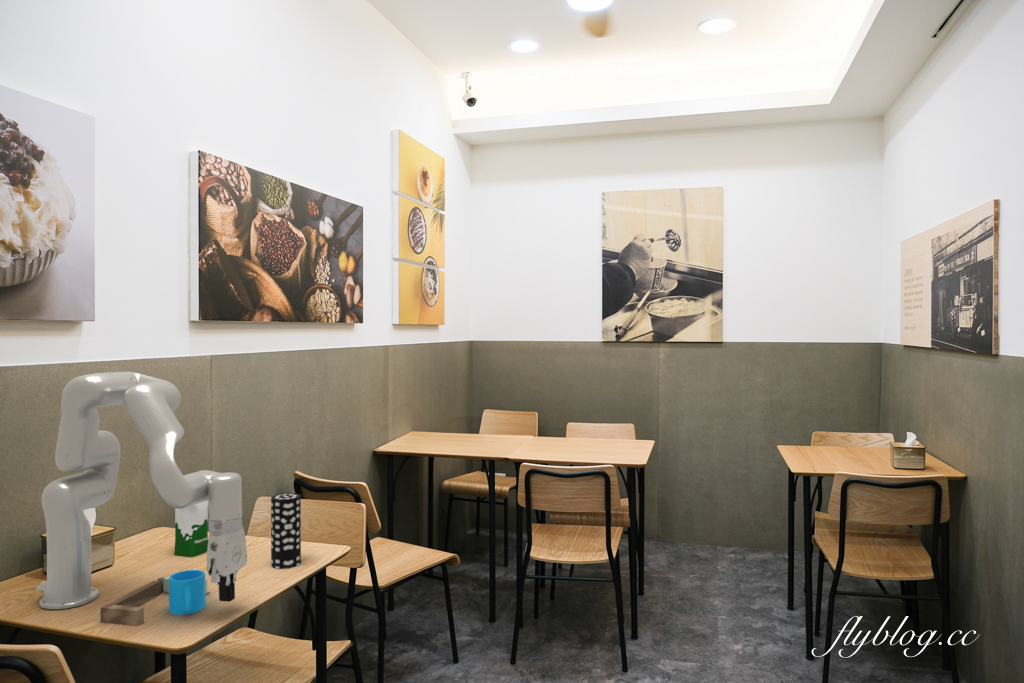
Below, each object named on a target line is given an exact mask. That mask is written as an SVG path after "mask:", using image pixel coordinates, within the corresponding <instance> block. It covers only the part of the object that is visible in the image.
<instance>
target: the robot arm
mask: <svg viewBox="0 0 1024 683" xmlns="http://www.w3.org/2000/svg"><path fill="white" fill-rule="evenodd" d="M181 396H182V395H181V393H180V391H179V389H178V388H177V386H176V385H175V384H173V383H172V382H170V381H168V380H165V379H161V378H157V377H154V376H150V375H146V374H143V373H139V372H136V371H134V372H133V371H114V372H113V371H112V372H107V371H106V372H95V373H89V374H83V375H79V376H76V377H74V378H72V379H71V380H69V382H67V384H65V387H64V388H63V390H62V393H61V401H60V404H61V407H60V408H61V410H60V414H61V415H60V423H59V426H58V427H59V429H58V434H57V440H56V447H55V454H54V462H55V466H56V467H57V469H59V471H61V472H63V473H69V474H71V473H75V474H71V475H67V476H63V477H59V478H57V479H54V480H53V481H51V482H50V483H48V484H47V485H46V486H45V488H44V489H43V491H42V494H41V499H40V500H41V506H42V510H43V514H44V519H45V529H46V580H42V581H41V582H40V584H39V585H38V586H36V589H35V591H36V592H38V593H39V592H41V593H43V597H42V598H41V599H39V606H40V608H42V609H45V610H64V609H71V608H75V607H79V606H83V605H86V604H89V603H91V602H92V601H94V600H95V599H97V598H98V597H99V590H98V589H97V588H95V587H93V586H92V528H91V524H90V522H89V519H88V518H87V516H86V514H85V511H87V510H88V509H91V508H92V509H93V508H95V507H98V506H101V505H103V504H105V503H107V502H108V501H109V500H110V499H111V498H113V495H114V493H115V489H116V486H117V485H116V484H117V480H118V473H119V467H120V460H121V451H122V450H121V444H120V441H119V439H118V438H117V436H116V435H115V434H114V433H112V432H111V431H108V430H105V429H103V430H100V425H101V424H100V422H101V421H100V420H101V418H100V414H99V411H98V409H97V408H101V407H102V408H103V407H110V406H118V405H123V406H124V408H125V409H126V411H127V413H128V415H129V417H130V418H131V419H132V421H133V423H134V424H135V426H136V427H137V429H138V431H139V433H140V434H141V436H142V437H143V439H144V441H145V442H146V444H147V445H148V447H149V455H148V468H149V475H150V479H151V481H152V483H153V485H154V487H155V488H156V490H157V492H158V493H159V495H160V496H161V498H162V499H163V501H164V502H165V503H166V504H167V505H168V506H170V507H171V508H173V509H175V508H176V509H184V508H188V507H190V506H193V505H196V504H198V503H201V502H205V501H208V548H207V551H206V571H207V575H208V576H210V582H211V583H213V584H214V583H215V584H217V586H218V600H219V601H220V602H228V603H230V602H232V601H233V600H235V598H236V592H235V588H236V587H235V584H236V583H235V582H236V581H237V574H238V572H239V571H240V570H241V569H242V568H243V567H245V566H246V565H247V562H248V550H247V548H248V547H247V539H246V532H245V529H244V526H243V488H242V487H243V486H242V483H243V482H242V481H243V480H242V477H241V474H239V473H237V472H217V471H213V470H210V469H207V470H206V469H204V470H198V471H194V472H190V473H188V474H187V473H186V474H183V473H182V471H181V470H180V469H179V467H178V465H177V462H176V458H175V456H174V454H175V453H174V452H175V447H176V446H177V443H178V442H180V440H181V439H182V438H183V436H184V433H185V430H184V428H183V426H182V424H181V423H180V422H179V420H178V419H177V416H176V415H175V413H174V411H175V410H177V409H178V407H179V406H180V404H181ZM78 472H80V473H78Z"/></svg>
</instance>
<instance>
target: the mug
mask: <svg viewBox="0 0 1024 683" xmlns="http://www.w3.org/2000/svg"><path fill="white" fill-rule="evenodd" d="M169 576H170V577H169V593H168V613H169V614H172V615H178V616H181V615H190V614H194V613H197V612H200V611H201V610H203V609H205V606H206V596H205V579H206V572H205V571H204V570H201V569H200V570H199V569H189V570H188V569H187V570H181V571H177V572H175V573H173V574H170V575H169ZM199 610H200V611H199Z"/></svg>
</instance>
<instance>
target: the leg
mask: <svg viewBox="0 0 1024 683" xmlns="http://www.w3.org/2000/svg"><path fill="white" fill-rule="evenodd" d="M170 576H171V575H168V576H166V577H163V578H164V593H168V594H169V577H170ZM207 592H208V579H206V578H205V594H206V593H207Z"/></svg>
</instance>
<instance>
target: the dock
mask: <svg viewBox="0 0 1024 683" xmlns="http://www.w3.org/2000/svg"><path fill="white" fill-rule="evenodd" d="M164 578H165V577H158V578H157V580H152V581H150V582H148V583H147V584H145V585H143V586H140V587H138V588H137V589H134V590H133V591H131V592H127V594H125V595H123V596H121V597H118V598H116V599H115V600H113V601H111V602H109V603H107V604H105V605H102V606H101V607H100V611H99V612H100V614H99V615H100V618H99V620H100V623H103V624H114V625H124V626H125V625H126V626H133V627H134V626H135V627H136V626H138V627H139V626H140V625H142V624H143V623H144V622H145V608H144V607H143V606H142V605H144V604H146V603H147V602H149V601H151V600H153V599H155V598H157V597H159V596H160V595H161V594H163V593H165V592H164ZM210 593H211V592H210V591H209V592H208V591H207V593H206V594H205V597H206V596H208V595H210ZM141 606H142V607H141Z"/></svg>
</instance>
